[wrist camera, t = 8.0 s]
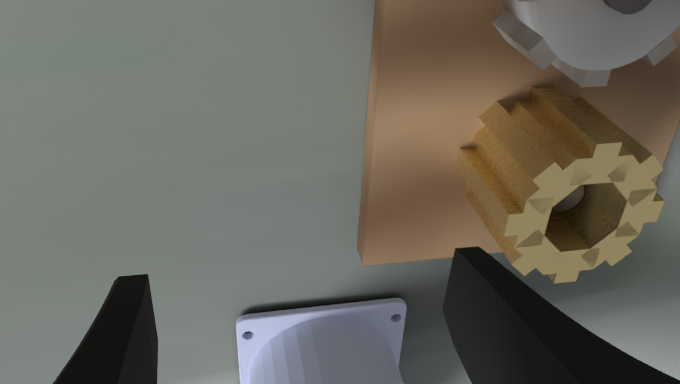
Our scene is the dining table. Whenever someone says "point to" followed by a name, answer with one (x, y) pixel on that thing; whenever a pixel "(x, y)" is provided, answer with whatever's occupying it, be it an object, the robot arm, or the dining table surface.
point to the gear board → (496, 85)
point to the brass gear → (559, 183)
